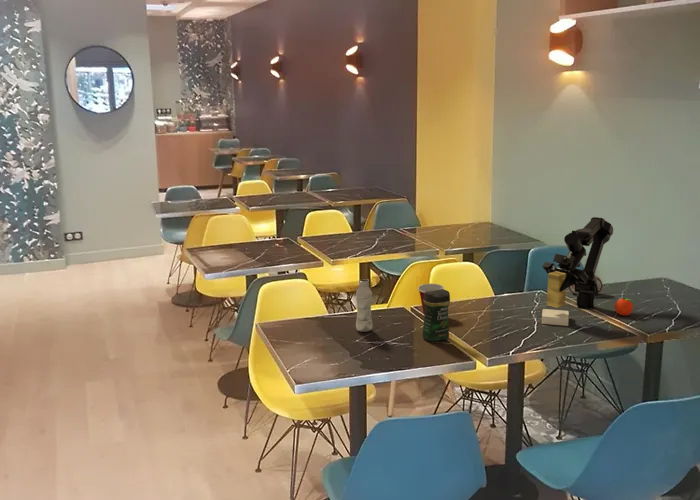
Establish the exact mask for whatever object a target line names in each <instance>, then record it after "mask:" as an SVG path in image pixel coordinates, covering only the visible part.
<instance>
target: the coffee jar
mask: <svg viewBox="0 0 700 500" xmlns="http://www.w3.org/2000/svg"><path fill="white" fill-rule="evenodd" d="M450 295H451V293H450V292H449V291H448V290H446V289H445V288H444V289H440V290H434V291H427V292H425V293H424V305H425V315H424V314H423V325H422V333H421V335H422V338H423V339H424V340H425V341H427V342H429V341H430V342H433V343H434V342H439V341H440V342H441V341H445V340H448V339H449V338H450V326H449V306H450V303H451V296H450Z"/></svg>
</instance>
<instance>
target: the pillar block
mask: <svg viewBox="0 0 700 500" xmlns="http://www.w3.org/2000/svg"><path fill="white" fill-rule="evenodd" d="M566 275H567V274H566V273H562V272H558V271H555V272H552V273H548V274H547V288H546V289H547V290H546V291H547V294H546V306H550V307H553V308H556V309H559V308H562V307H564V306H565V307H566V296H567V289H565V290H563V291H562V292H560V291H559V290H560V287H561V286H562V284H563V282H564V281H565V279H566Z"/></svg>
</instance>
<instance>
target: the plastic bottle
mask: <svg viewBox="0 0 700 500" xmlns="http://www.w3.org/2000/svg"><path fill="white" fill-rule="evenodd" d="M369 281H370V280H369V279H365V278H363V279H359V282H358V286H359V287H358V288H357V290H356V292H355V300H356V308H357V309H356V310H357V311H356V320H355V321H356V322H355V328H356V330H357V331H358V332H363V333H367V332H370V331H371V330H372V329H373V320H372V300H373V292H372V290H371V288H370V287H369V285H370V283H369Z"/></svg>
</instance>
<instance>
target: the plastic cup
mask: <svg viewBox="0 0 700 500" xmlns="http://www.w3.org/2000/svg"><path fill="white" fill-rule="evenodd" d="M440 289H444V290H445V286H443V285H442V284H438V283H424V284H420V285H419V286H418V287H417V290H418V292H419V295H420V301H421V307H422V314H423V316H424V315H425V305H424V293H425V292H427V291H434V290H440Z"/></svg>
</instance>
